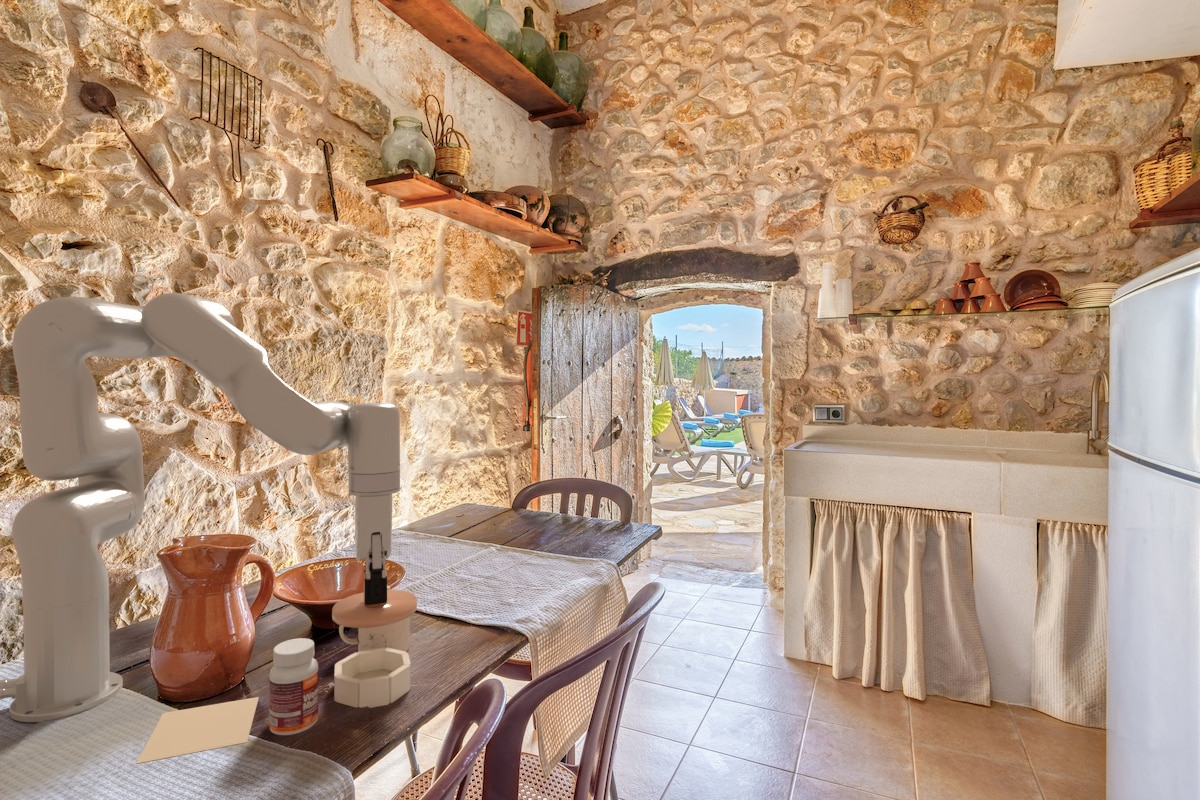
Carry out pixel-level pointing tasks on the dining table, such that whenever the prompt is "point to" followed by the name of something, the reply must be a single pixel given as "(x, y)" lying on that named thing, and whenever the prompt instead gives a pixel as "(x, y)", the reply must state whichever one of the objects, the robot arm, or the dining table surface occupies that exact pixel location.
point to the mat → (200, 729)
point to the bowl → (372, 677)
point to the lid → (374, 609)
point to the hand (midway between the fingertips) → (375, 597)
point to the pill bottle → (293, 687)
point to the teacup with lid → (381, 636)
